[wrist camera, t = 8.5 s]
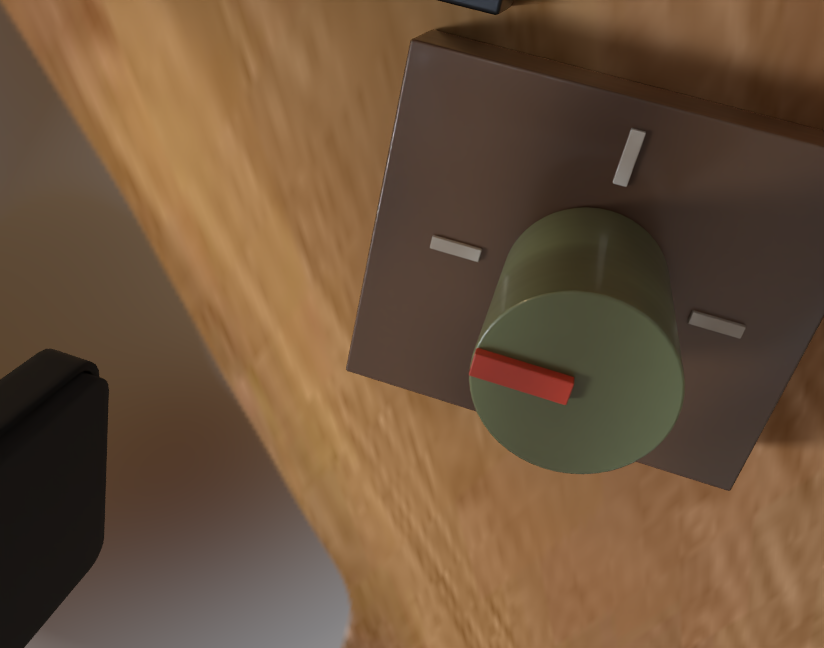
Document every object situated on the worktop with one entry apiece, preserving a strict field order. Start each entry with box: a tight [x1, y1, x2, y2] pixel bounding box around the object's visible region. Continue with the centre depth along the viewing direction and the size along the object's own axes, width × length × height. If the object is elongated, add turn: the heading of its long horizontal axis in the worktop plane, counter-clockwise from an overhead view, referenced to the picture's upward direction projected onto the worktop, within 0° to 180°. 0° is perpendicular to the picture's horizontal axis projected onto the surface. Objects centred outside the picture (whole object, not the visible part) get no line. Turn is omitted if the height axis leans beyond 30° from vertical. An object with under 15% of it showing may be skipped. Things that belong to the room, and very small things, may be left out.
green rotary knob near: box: [469, 207, 685, 474], centre depth 18 cm, size 4×4×6 cm
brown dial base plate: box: [346, 30, 824, 491], centre depth 22 cm, size 12×10×3 cm
